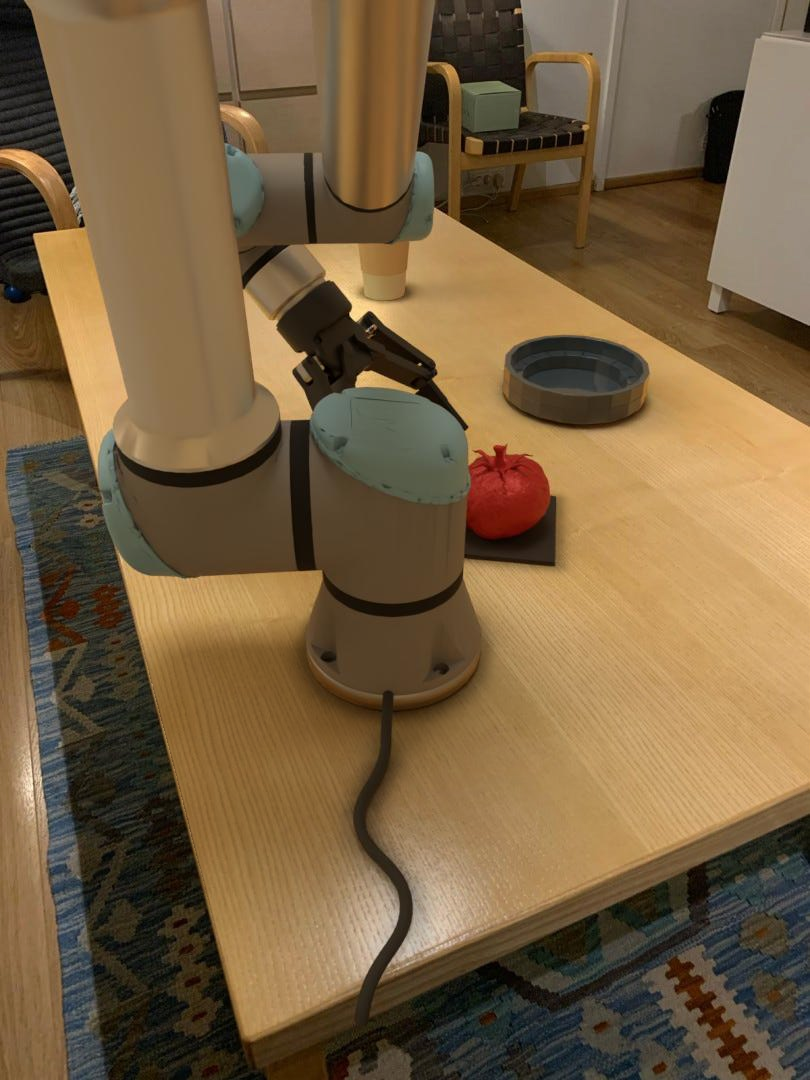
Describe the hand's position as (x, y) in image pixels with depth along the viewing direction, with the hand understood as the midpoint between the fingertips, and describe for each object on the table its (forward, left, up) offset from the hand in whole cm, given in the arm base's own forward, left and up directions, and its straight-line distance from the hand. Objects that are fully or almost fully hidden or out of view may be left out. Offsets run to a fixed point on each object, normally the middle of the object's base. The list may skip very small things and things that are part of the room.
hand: (434, 463), depth 92 cm
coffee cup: (+63, +16, -6) cm, 65 cm away
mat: (-2, -7, -6) cm, 9 cm away
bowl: (+30, -15, -6) cm, 34 cm away
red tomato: (-2, -7, -5) cm, 9 cm away
